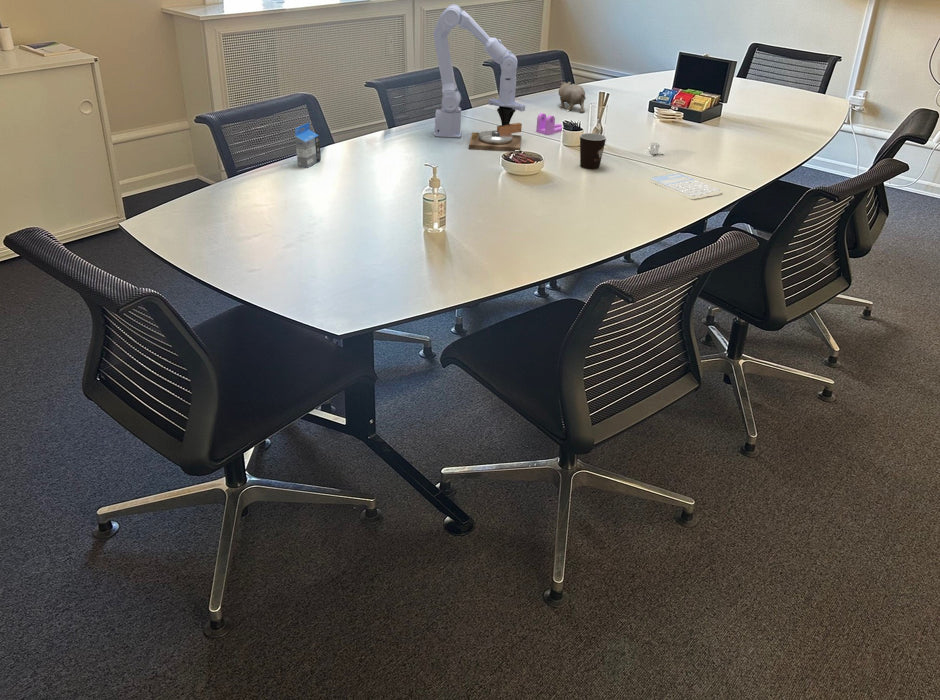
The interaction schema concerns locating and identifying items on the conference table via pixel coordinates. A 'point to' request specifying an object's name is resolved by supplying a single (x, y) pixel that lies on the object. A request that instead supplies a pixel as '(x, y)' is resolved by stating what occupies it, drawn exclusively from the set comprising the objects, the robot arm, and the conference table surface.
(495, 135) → the dial
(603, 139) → the coffee mug
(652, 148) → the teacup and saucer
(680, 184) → the calculator
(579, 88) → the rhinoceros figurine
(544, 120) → the bracket
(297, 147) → the label tape box
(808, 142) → the conference table surface
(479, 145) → the stand
